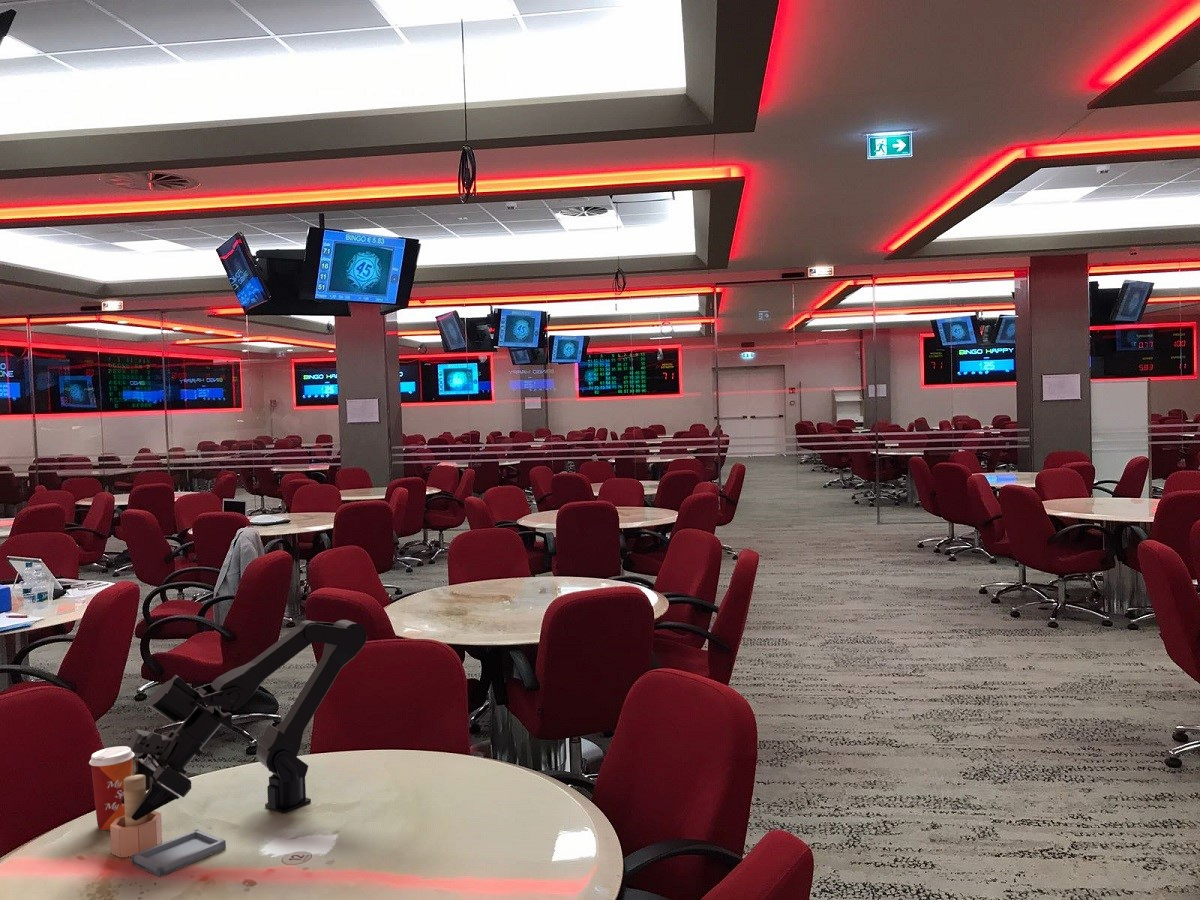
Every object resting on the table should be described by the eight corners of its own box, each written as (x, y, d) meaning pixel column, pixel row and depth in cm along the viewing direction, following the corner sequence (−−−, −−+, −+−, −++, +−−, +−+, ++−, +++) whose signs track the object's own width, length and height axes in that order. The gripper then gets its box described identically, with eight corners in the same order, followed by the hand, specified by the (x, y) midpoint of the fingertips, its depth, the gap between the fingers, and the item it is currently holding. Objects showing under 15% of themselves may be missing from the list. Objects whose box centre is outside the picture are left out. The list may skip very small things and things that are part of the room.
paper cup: (117, 834, 164) (114, 759, 164) (81, 832, 166) (79, 758, 166) (146, 816, 172) (143, 745, 172) (112, 814, 173) (110, 744, 173)
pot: (146, 834, 164) (145, 807, 164) (168, 843, 159) (167, 816, 159) (104, 850, 157) (103, 822, 157) (126, 860, 153) (125, 832, 153)
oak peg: (141, 841, 161) (139, 773, 161) (151, 845, 159) (149, 776, 159) (122, 848, 158) (119, 779, 158) (132, 853, 156) (129, 783, 156)
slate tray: (197, 837, 162) (197, 829, 162) (225, 848, 157) (225, 840, 157) (132, 864, 152) (131, 855, 152) (159, 877, 147) (159, 868, 147)
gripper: (146, 701, 168) (82, 773, 161) (169, 723, 154) (100, 803, 147) (191, 733, 173) (131, 804, 166) (218, 757, 159) (153, 836, 152)
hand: (128, 811), depth 158 cm, fingers open, 9 cm apart
